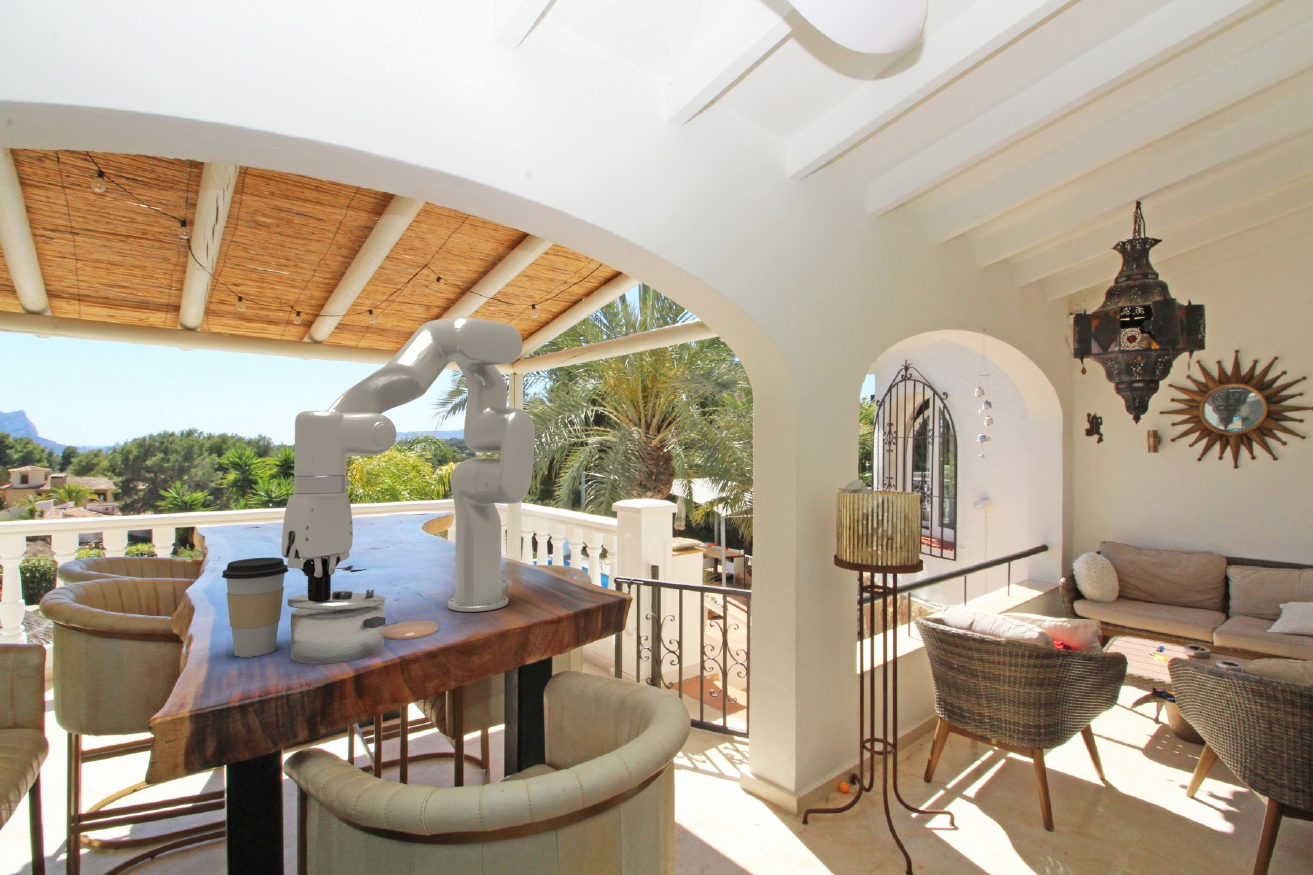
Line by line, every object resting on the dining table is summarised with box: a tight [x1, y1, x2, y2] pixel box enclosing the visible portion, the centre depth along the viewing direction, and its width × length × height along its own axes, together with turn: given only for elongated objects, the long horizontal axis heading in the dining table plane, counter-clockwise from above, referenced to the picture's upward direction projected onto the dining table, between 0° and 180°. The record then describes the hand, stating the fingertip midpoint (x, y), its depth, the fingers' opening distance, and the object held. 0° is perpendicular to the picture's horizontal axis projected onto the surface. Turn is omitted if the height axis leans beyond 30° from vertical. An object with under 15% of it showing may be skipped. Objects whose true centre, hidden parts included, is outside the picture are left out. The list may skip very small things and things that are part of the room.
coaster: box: [384, 620, 440, 640], centre depth 118 cm, size 10×10×1 cm
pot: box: [289, 603, 386, 665], centre depth 107 cm, size 14×18×7 cm
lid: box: [286, 589, 386, 610], centre depth 107 cm, size 15×15×2 cm
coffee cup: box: [221, 557, 290, 658], centre depth 106 cm, size 9×9×15 cm
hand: (319, 599), depth 103 cm, fingers closed
